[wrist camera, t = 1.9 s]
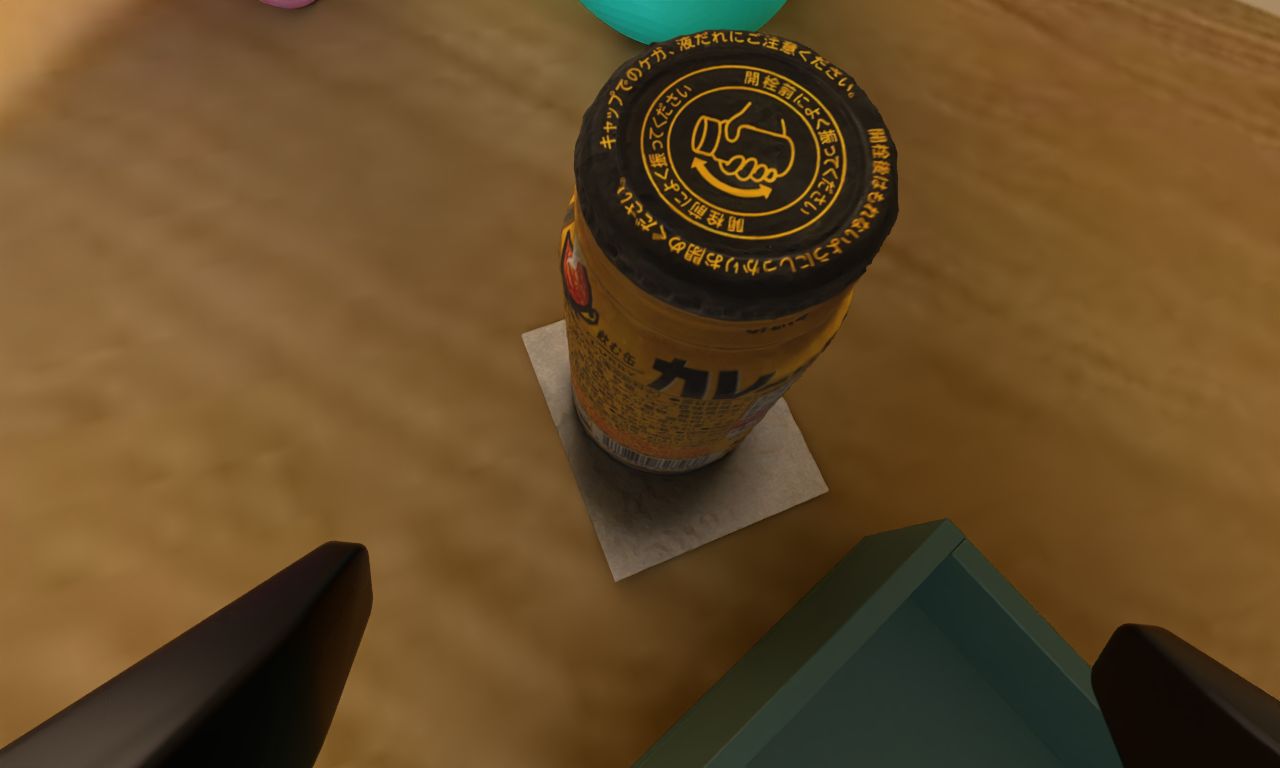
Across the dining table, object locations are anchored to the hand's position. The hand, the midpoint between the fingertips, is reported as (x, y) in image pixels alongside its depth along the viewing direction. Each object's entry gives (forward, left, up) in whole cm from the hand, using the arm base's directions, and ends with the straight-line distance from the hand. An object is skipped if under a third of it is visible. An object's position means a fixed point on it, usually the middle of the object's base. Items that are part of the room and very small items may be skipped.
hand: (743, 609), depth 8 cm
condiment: (+4, -4, -12) cm, 14 cm away
